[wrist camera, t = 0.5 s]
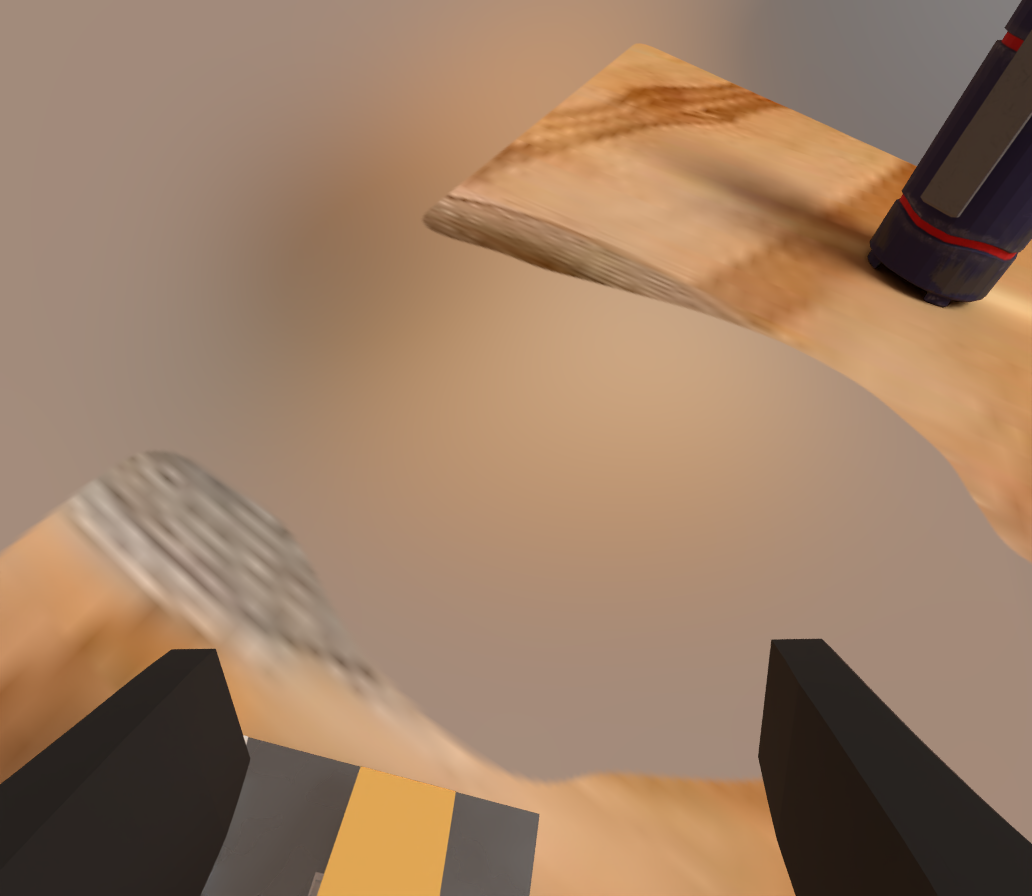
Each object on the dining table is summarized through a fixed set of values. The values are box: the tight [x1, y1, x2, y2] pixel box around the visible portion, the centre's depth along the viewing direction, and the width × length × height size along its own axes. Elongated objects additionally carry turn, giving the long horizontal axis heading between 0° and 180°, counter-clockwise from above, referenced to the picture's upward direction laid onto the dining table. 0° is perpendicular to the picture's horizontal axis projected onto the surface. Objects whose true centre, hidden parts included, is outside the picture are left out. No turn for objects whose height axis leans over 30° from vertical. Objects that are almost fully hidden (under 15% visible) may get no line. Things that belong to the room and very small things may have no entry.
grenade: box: [868, 0, 1032, 307], centre depth 61 cm, size 14×12×30 cm
